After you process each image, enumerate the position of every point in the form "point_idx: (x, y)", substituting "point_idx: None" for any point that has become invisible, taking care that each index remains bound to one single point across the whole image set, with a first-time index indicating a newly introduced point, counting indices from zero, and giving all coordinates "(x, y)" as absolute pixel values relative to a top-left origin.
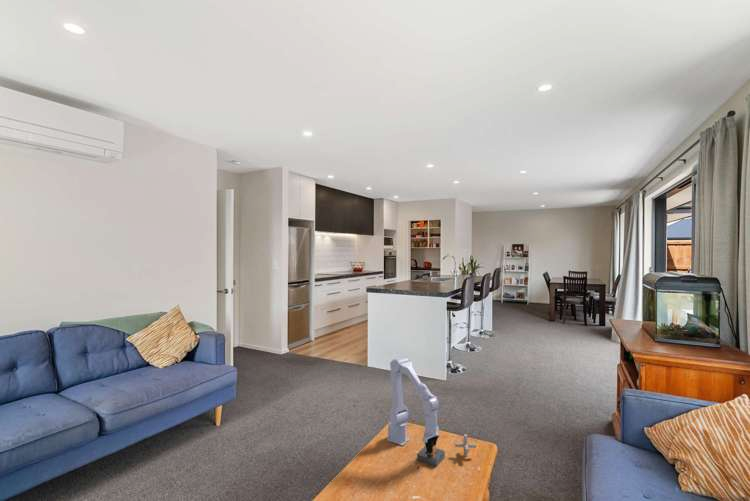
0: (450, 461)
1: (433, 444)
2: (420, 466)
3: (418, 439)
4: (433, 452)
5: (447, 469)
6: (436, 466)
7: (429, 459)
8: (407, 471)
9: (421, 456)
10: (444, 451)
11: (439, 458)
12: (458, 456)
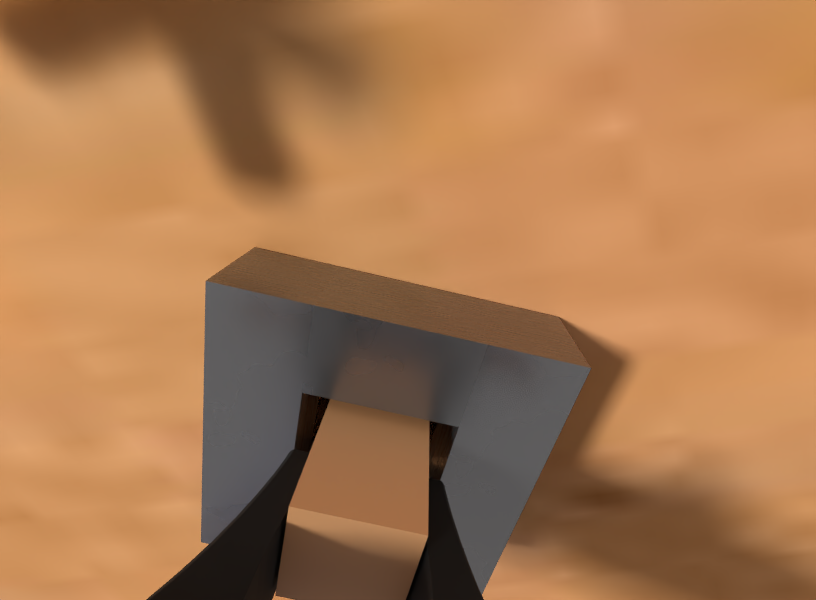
0: (326, 138)
1: (277, 552)
2: (581, 479)
3: (76, 559)
4: (420, 461)
5: (571, 149)
6: (555, 320)
7: (539, 454)
8: (702, 566)
9: (497, 545)
10: (220, 281)
11: (451, 325)
12: (104, 15)
